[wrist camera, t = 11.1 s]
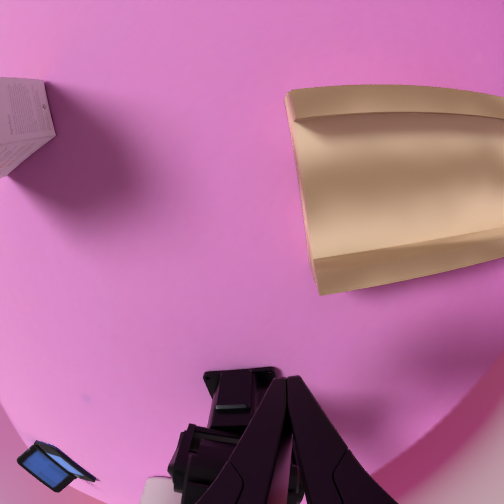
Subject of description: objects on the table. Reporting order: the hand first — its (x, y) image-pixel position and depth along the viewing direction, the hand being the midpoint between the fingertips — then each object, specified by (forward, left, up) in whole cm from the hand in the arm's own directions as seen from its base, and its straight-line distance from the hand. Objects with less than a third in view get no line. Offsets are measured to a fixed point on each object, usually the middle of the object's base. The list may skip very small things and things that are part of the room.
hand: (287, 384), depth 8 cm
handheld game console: (-46, +57, -12) cm, 75 cm away
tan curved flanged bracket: (+4, -10, -12) cm, 16 cm away
